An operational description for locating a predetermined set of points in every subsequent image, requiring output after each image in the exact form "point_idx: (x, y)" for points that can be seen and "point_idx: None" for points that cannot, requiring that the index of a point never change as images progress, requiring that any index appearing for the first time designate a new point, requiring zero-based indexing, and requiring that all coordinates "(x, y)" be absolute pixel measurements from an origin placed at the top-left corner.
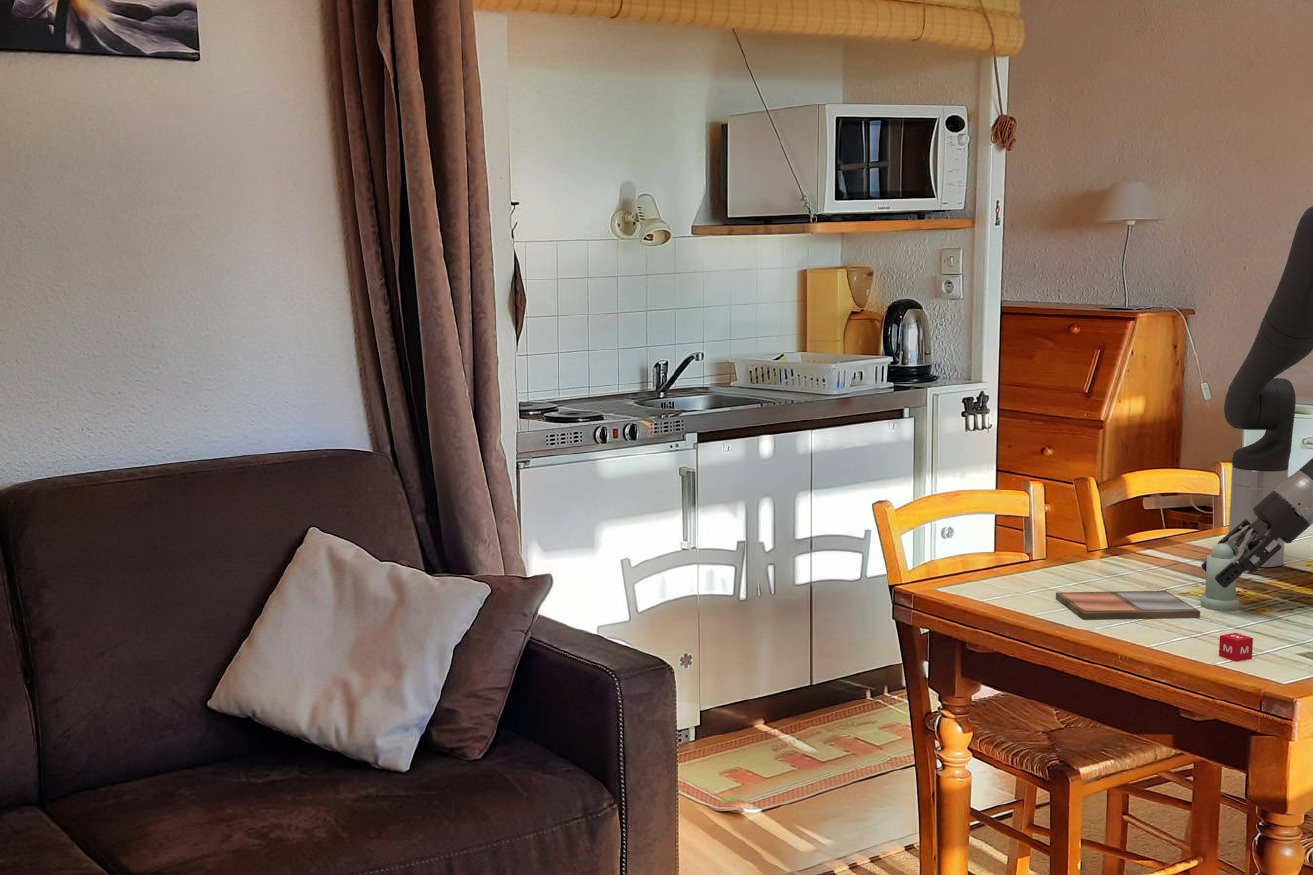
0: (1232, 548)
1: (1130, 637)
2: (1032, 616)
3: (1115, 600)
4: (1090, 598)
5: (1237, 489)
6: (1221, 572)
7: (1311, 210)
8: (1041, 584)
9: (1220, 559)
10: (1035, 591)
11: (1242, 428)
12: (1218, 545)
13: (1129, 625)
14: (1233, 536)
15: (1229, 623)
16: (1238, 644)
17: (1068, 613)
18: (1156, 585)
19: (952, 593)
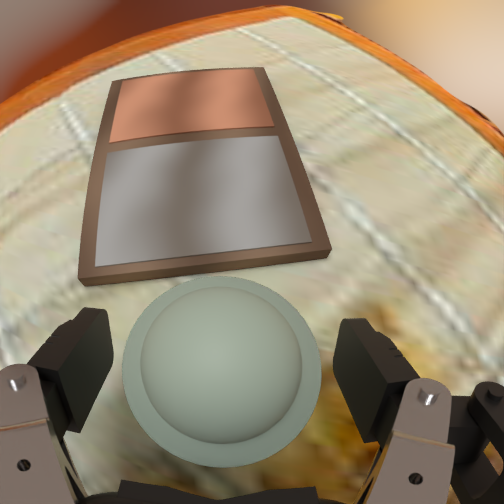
0: (461, 465)
1: (7, 138)
2: (146, 52)
3: (196, 121)
4: (214, 92)
5: None
6: (72, 322)
7: None
8: (362, 86)
9: (133, 330)
10: (309, 69)
11: None
12: (196, 309)
13: (62, 140)
14: (407, 482)
15: (30, 344)
16: None
17: None
18: (442, 266)
19: (272, 20)
